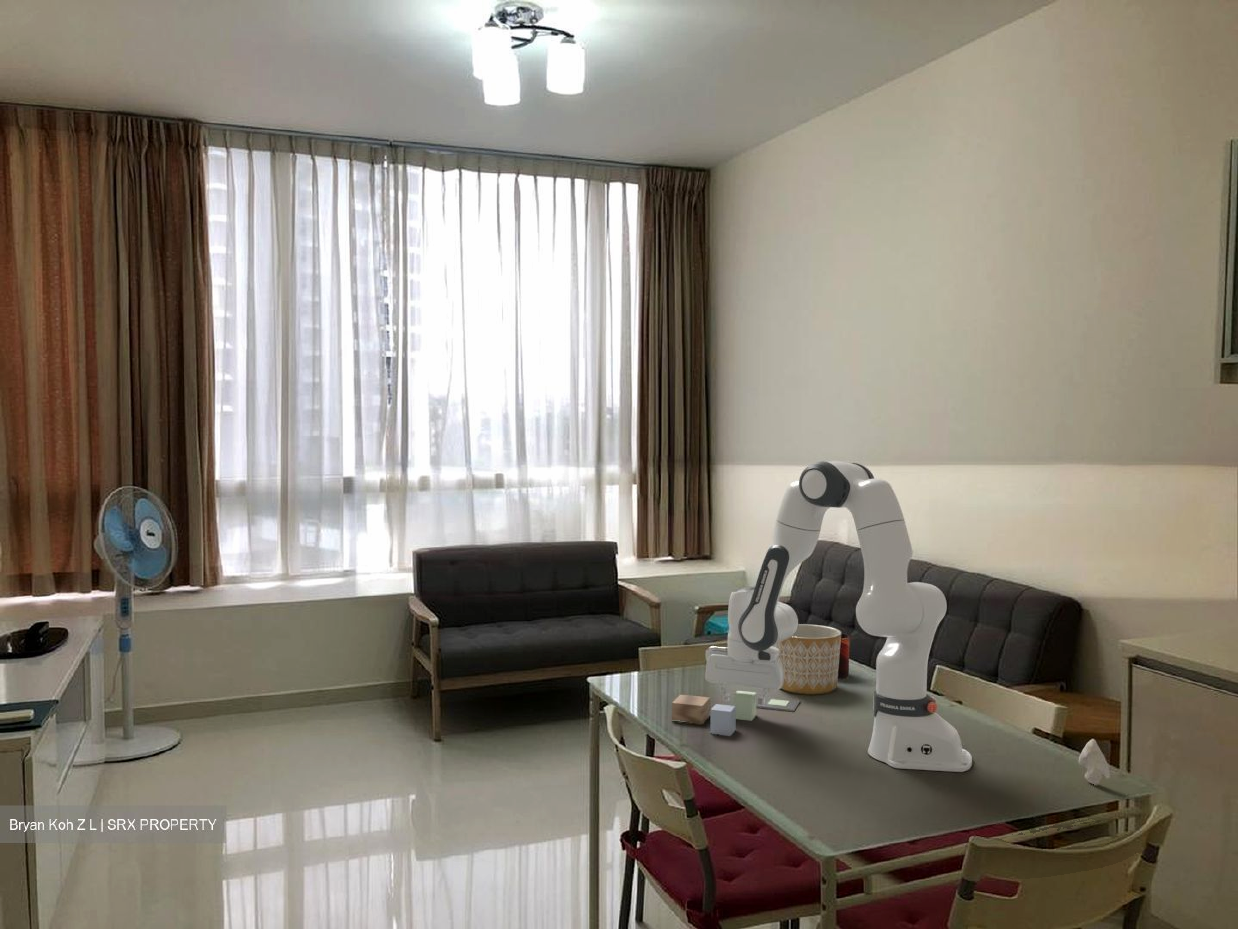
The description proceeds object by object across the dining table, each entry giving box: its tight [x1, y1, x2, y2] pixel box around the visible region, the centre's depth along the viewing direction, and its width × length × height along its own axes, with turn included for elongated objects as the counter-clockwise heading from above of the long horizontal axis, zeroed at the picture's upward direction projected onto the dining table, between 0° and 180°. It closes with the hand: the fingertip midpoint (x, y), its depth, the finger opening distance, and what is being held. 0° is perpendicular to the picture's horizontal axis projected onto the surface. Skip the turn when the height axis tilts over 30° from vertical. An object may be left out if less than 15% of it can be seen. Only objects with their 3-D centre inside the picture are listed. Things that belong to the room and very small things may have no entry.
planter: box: [773, 623, 842, 696], centre depth 276 cm, size 19×19×16 cm
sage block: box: [732, 690, 757, 722], centre depth 248 cm, size 5×5×6 cm
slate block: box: [710, 703, 737, 737], centre depth 236 cm, size 5×5×6 cm
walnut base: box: [671, 694, 711, 725], centre depth 246 cm, size 8×8×5 cm
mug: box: [837, 632, 850, 680], centre depth 292 cm, size 10×14×12 cm
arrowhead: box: [1077, 738, 1111, 786], centre depth 200 cm, size 8×3×10 cm, turn 21°
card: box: [756, 695, 801, 713], centre depth 259 cm, size 10×10×1 cm
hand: (743, 702), depth 248 cm, fingers open, 8 cm apart
